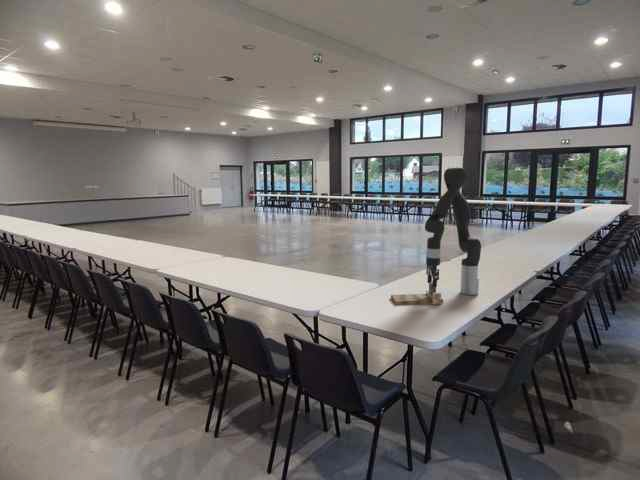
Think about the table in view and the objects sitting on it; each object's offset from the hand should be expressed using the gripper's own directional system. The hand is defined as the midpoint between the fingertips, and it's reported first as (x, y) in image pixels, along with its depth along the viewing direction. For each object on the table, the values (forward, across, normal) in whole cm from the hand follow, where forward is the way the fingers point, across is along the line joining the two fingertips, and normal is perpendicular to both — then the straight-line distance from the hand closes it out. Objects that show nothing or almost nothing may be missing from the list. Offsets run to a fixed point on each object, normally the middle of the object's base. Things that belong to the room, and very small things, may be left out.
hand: (431, 284), depth 226 cm
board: (+9, 0, +8) cm, 12 cm away
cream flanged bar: (+9, 0, 0) cm, 9 cm away
